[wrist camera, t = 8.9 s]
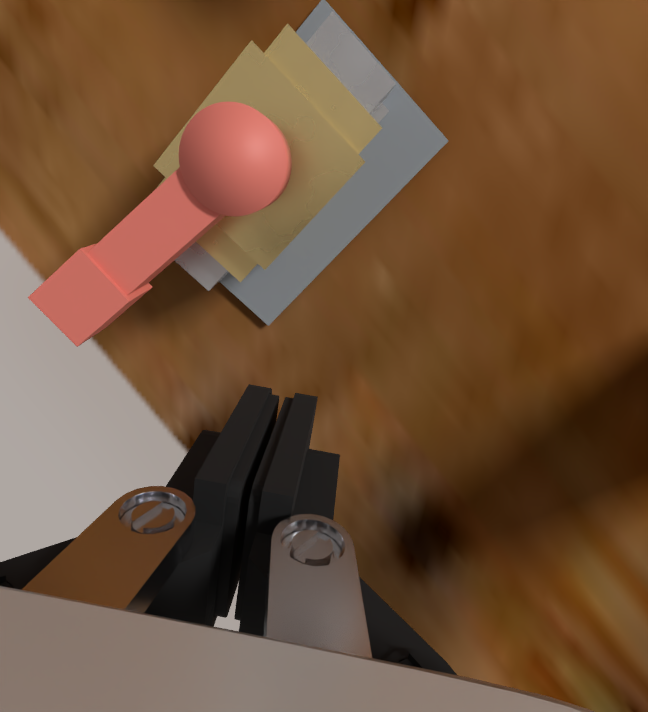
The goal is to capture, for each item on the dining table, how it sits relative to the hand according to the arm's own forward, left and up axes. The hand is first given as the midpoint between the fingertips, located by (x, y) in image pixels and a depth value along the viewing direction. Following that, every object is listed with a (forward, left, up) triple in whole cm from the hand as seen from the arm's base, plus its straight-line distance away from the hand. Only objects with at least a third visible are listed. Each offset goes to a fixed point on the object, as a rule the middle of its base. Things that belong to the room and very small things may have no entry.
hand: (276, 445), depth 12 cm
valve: (-3, -6, -18) cm, 19 cm away
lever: (0, -6, -8) cm, 10 cm away
